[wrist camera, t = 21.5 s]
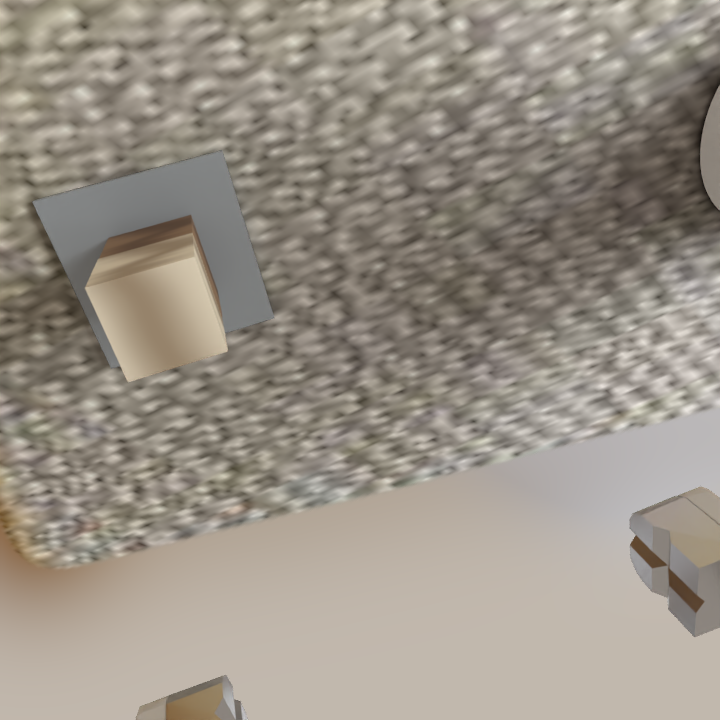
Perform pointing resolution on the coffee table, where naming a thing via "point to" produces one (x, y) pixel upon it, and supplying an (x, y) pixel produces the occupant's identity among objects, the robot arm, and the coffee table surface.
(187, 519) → the coffee table surface
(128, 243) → the walnut cube
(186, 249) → the beech cube
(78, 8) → the coffee table surface
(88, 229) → the pad
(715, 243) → the coffee table surface
